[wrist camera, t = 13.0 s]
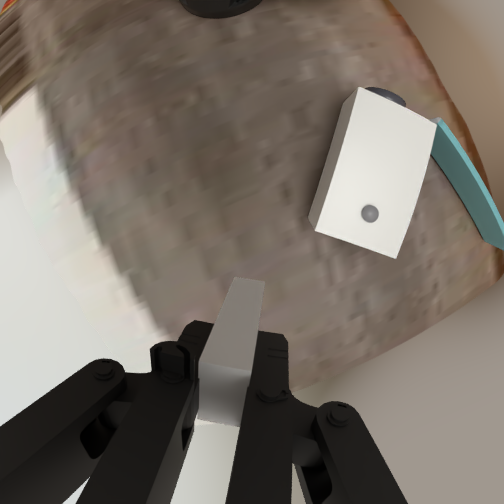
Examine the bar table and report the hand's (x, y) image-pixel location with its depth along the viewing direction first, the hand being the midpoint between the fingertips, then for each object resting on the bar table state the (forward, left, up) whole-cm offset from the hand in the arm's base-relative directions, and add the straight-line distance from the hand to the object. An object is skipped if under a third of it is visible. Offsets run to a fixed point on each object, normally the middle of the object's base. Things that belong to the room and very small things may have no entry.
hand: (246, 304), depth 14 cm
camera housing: (-10, +11, -28) cm, 32 cm away
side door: (-15, +27, -27) cm, 42 cm away
